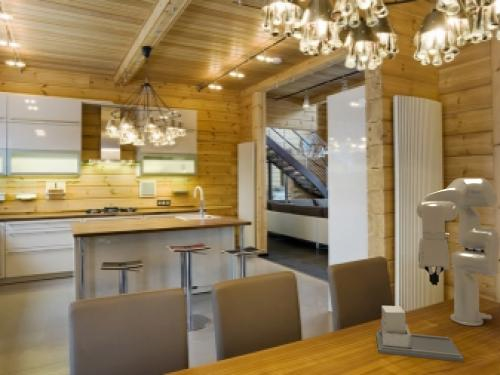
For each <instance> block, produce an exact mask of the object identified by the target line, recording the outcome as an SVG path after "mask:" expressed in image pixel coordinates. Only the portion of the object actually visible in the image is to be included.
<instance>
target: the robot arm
mask: <svg viewBox="0 0 500 375" xmlns="http://www.w3.org/2000/svg"><path fill="white" fill-rule="evenodd" d="M497 201H498V195H497V191H496V189H495V188H494V187H493V185H492V183H491V182H490V181H489V180H488V179H486V178H483V177H459V178H455V179H454V180H453V181H452V182H451V183H449V184H448V186H447V187H446V188H445V189H441V190H438V191H435V192H431V193H428V194H427V195H425V196H423V197H422V199H420V200H419V202H418V203H417V206H416V214H417V216H418V217H419V218H420V219H421V221H422V222H421V223H422V225H421V227H422V228H421V230H422V233H421V235H422V236H421V238H420V239H419V242H418V256H417V260H418V265H417V268H419V269H422V270H425V271H426V272H427V273H428V274H429V277H428V278H429V280H428V281H429V283H431V285H432V286H438V283H439V282H440V275H441V273H442V272H443V271H448V270H450V269H451V266H452V269H453V293H454V294H453V295H454V296H453V300H454V302H453V305H454V306H453V308H454V309H453V313H451V315H450V320H451V321H453V322H454V323H457V324H460V325H464V326H472V327H473V326H474V327H477V326H481V325H483V324H484V320H492V317H493V316H492V315H491V314H487V313H485V312H481V311H480V288H479V287H480V285H479V281H478V278H477V277H476V274H477V275H483V276H491V277H492V276H496V274H497V273H498V269H499V261H500V233H499V232H498V231H497V230H495V229H493V228H487V227H486V228H484V227H483V228H482V226H481V224H482V217H481V215H480V213H479V212H478V211H477V210H476V209H475V207H477V208H492V207H494V206H495V205H496V204H497ZM458 215H459V223H458V233H457V243H458V245H459V246H460V247H463V248H467V249H472V250H464V249H462V250H457V251H456V250H455V251H454V252H453V253H452V254H451V264H452V265H450V252H449V245H448V240H447V239H446V238H447V237H448V238H449V237H450V233H449V232H447V231H446V230H445V227H446V226H445V222H446V221H447V222H449V221H450V222H451V221H454V220H455V219H456V218H457V217H458ZM473 249H474V250H480V251H481V250H483V251H485V252H480V251H473ZM434 267H435V268H434ZM433 268H434V270H433Z"/></svg>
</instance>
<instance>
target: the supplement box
mask: <svg viewBox="0 0 500 375" xmlns="http://www.w3.org/2000/svg"><path fill="white" fill-rule="evenodd" d="M381 321H382V337H383V332H385V333H395V334H406V312H405V311H404V309H403V308H402V307H401V306H400V305H381Z"/></svg>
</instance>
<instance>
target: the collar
mask: <svg viewBox="0 0 500 375" xmlns="http://www.w3.org/2000/svg"><path fill="white" fill-rule="evenodd" d="M379 321H380V320H379ZM379 328H380V329H379V331H380V333H381V334H382V320H381V321H380V326H379ZM411 334H412V333H411V331H410V329H409V325H408V323H406V334H395V333H385V332H383V346H386V347H395V348H405V349H412V336H411Z"/></svg>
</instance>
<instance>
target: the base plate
mask: <svg viewBox="0 0 500 375" xmlns="http://www.w3.org/2000/svg"><path fill="white" fill-rule="evenodd" d="M375 336H376V341H377V342H376V343H377V349H378V353H379V354H386V355H387V354H389V355H397V356H404V357H405V356H406V357H415V358H424V359H430V360H431V359H433V360H440V361H441V360H442V361H450V362H451V361H452V362H458V363H459V362H460V363H464V357H463V355H462V353H460V351H459V349H458V348H457V345H456V344H455V343H454V341H453V339H452V338H450V337H448V336H439V335H438V336H437V335H427V334H416V333H411V336H412V349H405V348H395V347H386V346H383V337H382V334H381V333H380V330H378V331H376V332H375Z"/></svg>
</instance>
